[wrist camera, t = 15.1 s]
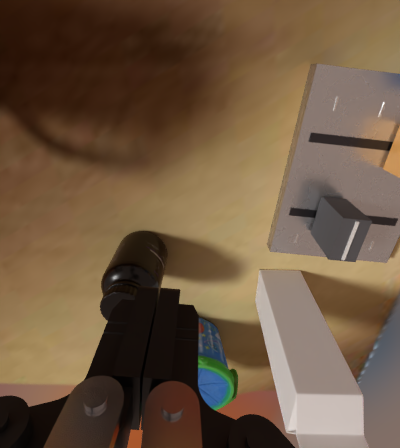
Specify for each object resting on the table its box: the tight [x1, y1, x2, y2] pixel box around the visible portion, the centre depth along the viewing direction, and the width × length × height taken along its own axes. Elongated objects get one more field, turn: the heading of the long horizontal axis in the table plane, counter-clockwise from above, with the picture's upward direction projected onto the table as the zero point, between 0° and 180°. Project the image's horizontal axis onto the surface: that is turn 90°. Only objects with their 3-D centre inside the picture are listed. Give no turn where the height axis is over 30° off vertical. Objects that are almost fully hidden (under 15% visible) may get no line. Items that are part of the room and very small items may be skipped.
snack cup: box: [198, 318, 238, 411], centre depth 44 cm, size 16×10×10 cm
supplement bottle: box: [100, 231, 167, 320], centre depth 36 cm, size 7×7×12 cm
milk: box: [255, 270, 369, 448], centre depth 34 cm, size 6×6×22 cm
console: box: [267, 64, 400, 263], centre depth 35 cm, size 22×16×2 cm
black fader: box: [311, 196, 372, 262], centre depth 34 cm, size 5×3×6 cm, turn 174°
